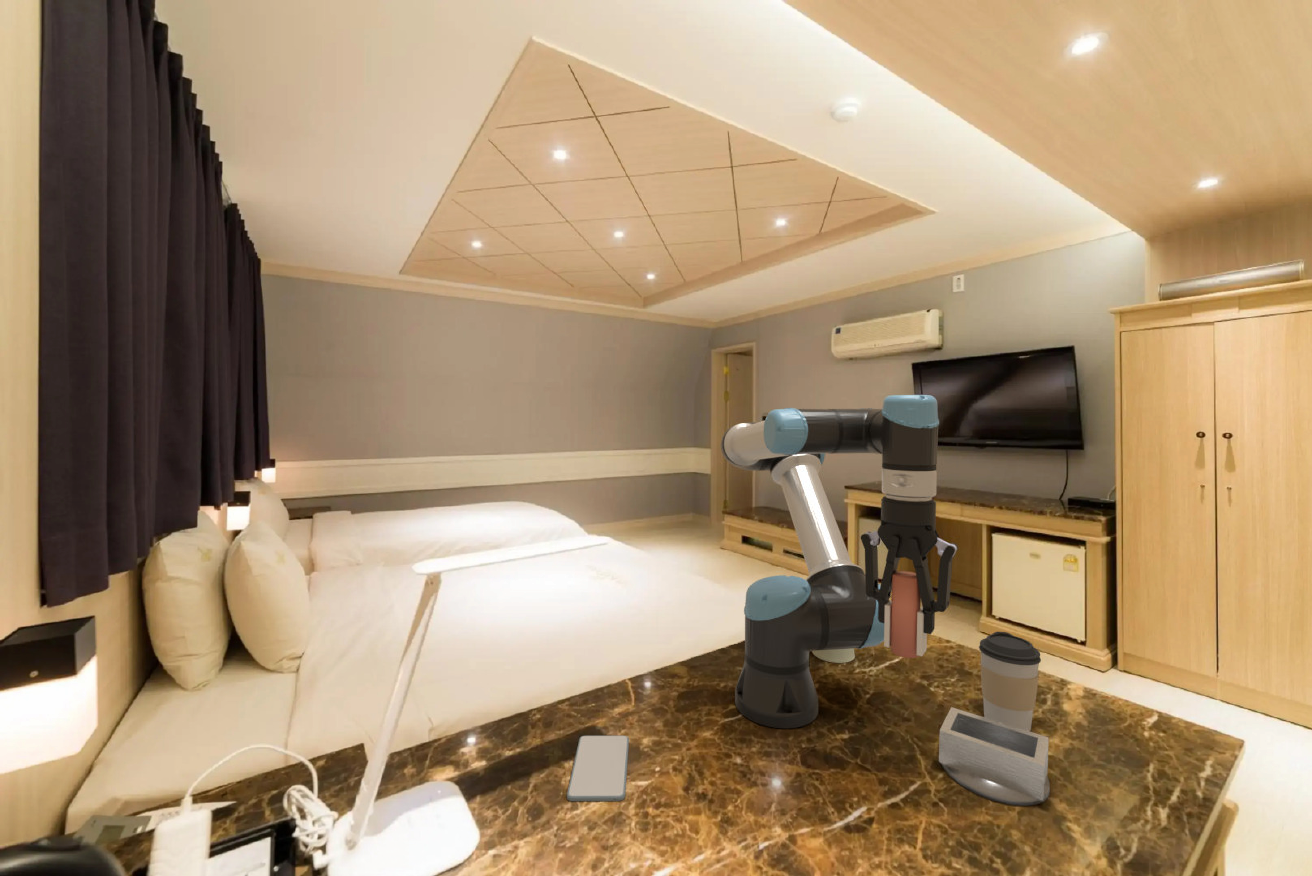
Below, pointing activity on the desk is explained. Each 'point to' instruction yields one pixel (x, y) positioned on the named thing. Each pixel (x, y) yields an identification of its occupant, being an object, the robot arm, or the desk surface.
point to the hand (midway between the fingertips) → (905, 648)
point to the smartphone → (599, 769)
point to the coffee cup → (1009, 679)
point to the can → (835, 655)
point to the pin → (904, 614)
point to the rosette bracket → (995, 759)
